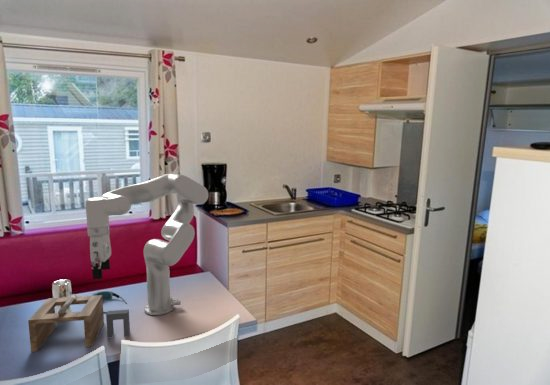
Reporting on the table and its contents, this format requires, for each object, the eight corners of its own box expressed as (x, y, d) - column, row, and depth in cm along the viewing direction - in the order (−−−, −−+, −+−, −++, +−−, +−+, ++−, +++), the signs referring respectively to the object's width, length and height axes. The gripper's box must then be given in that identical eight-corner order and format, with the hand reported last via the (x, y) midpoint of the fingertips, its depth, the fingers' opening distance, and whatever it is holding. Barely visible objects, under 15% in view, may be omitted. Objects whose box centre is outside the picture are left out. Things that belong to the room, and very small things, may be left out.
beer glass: (65, 320, 157) (62, 286, 155) (50, 318, 159) (47, 284, 156) (77, 313, 164) (74, 279, 162) (62, 311, 166) (60, 278, 163)
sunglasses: (107, 296, 182) (107, 286, 180) (130, 306, 176) (131, 296, 175) (81, 308, 169) (81, 298, 168) (105, 320, 163) (105, 309, 162)
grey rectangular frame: (129, 332, 149) (128, 309, 148) (128, 336, 146) (127, 313, 145) (109, 333, 148) (108, 310, 146) (107, 337, 145) (106, 314, 143)
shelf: (103, 322, 156) (101, 290, 154) (91, 346, 139) (89, 310, 136) (50, 326, 152) (47, 293, 150) (31, 351, 135) (27, 314, 133)
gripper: (102, 236, 135) (105, 282, 138) (115, 224, 152) (118, 265, 155) (79, 237, 134) (83, 283, 137) (95, 225, 151) (98, 266, 154)
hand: (101, 273), depth 146 cm, fingers open, 9 cm apart
